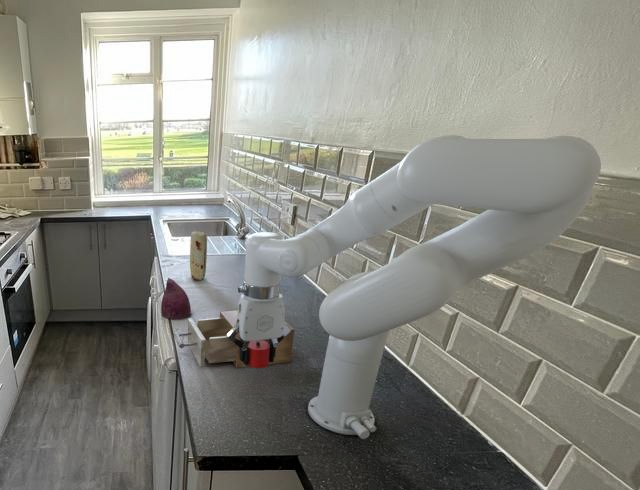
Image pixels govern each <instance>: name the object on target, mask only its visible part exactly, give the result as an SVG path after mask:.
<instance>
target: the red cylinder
mask: <svg viewBox="0 0 640 490" xmlns="http://www.w3.org/2000/svg"><path fill="white" fill-rule="evenodd" d="M247 349H248V350H249V364H248V366H247V367H250V368H254V369H264V368H267V367H268V366H269V365H270V364H269V353H270V344H269V343H268V342H266V341H263V340H257V341H250V343H249V345H248V348H247Z"/></svg>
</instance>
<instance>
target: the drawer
mask: <svg viewBox="0 0 640 490" xmlns="http://www.w3.org/2000/svg"><path fill="white" fill-rule="evenodd" d="M196 321H197V323H196V322H195V321H194V319H193V318H192V317H188V319H187V332H180V333H179V332H177V331H175V332H173V338H174V339H175V342H176V344H177V345H178V347H179V349H184V348H185V347H189V349H190V350H191V352H192V354H193V356H194V358H195V360H196V362H197V364H198V365H199V367H200V368H202V367H206V361H207V362H208V364H217V363H226V362H232V361H236V352H237V345H236V344H235V343H234V342H232V341H231V340H229V339H228V338H227V334H228V333H229V332H230V330H231V329H232V328H231V327H230V326H229V325H228V324H227V322H226V321H225V320H224V319H223V317H221V318H220V317H211V318H201V319H200V318H199V319H197V320H196ZM181 337H187V343H185V342H183V340H182V338H181ZM235 337H237V338H238V336H237V335H236V336H235Z"/></svg>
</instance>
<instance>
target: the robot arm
mask: <svg viewBox="0 0 640 490" xmlns="http://www.w3.org/2000/svg"><path fill="white" fill-rule="evenodd" d="M601 170H602V161H601V158H600V156H599V154H598V151H597V150H596V148H595V147H594V145H592V144H591V143H590V142H589V141H587V140H585V139H583V138H580V137H577V136H573V135H554V136H549V137H546V138H545V137H544V138H467V137H464V136H461V135H456V134H449V135H448V134H447V135H442V136H436V137H433V138H428V139H426V140H424V141H422V142H420V143H419V144H417V145H415V146H414V147H413V148H412V149H410V151H409V152H408V153H406V155H405V156H404V157H403V158H402V160H401V161H398V163H396V164H395V165H394V166H392V167H390V168H389V169H388V170H386V171H385V172H384V173H382V174H380V175H379V176H377V177H376V178H374V179H373V180H371V181H370V182H368V183H367V184H365V185H363V186H361V187H360V188H359V189H357V190H356V191H354V192H353V193H351V195H350V196H349V197H348V199H347V200H346V202H345V203H344V205H343V206H341V207H340V208H339V209H338V210H336V211H335V212H333V213H332V214H331V215H329V216H328V217H326V218H325V219H324V220H321V221H320V222H318V223H317V224H315V225H314V226H313V227H311V228H309V229H308V230H306V231H304V232H302V233H300V234H298V235H295V236H293V237H289V238H286V239H284V238H283V236H282V234H279V233H277V232H272V231H271V232H270V231H263V232H254V233H252V234H249V235H248V236H247V238H246V241H245V242H246V243H245V258H244V259H245V261H244V279H243V280H244V281H243V282H242V285H241V286H238V287H237V292H238V294H241V295H240V298H239V301H238V306H237V317H236V325H235V326H234V327H233V328H232V329H231V330H230V332H229V333H228V334H227V338H228V339H229V340H231V341H232V342H234V343H235V344H236V345H237V346H238V347H240V354H239V358H240V360H241V361H242V362H243V363H244V365H245V366H247V365H248V364H249V350H248V349H247V348H248V345H249V343H250V341H257V340H266V339H268V343H269V344H270V353H269V362H271V363H272V362H274V357H275V352H276V347H277V346H278V345H279V344H278V343H279V342H281V341H282V340H283V339H284V337H285V336H286V335H287V334H289V333H290V332H291V329H290V328H289V327H288V326H287V325H286V324H285V321H286V310H285V300H284V295H283V294H282V293H280V290H281V277H282V276H284V277H288V278H299V277H302V276H305V275H306V274H307V273H309V272H310V271H312V270H314V269H316V268H317V267H319V266H321V265H322V264H324V263H325V262H327V261H329V260H331V259H333V258H334V257H335V256H338V255H339V254H341V253H343V252H345V251H346V250H348V249H349V248H352V247H353V246H355V245H357V244H359V243H361V242H363V241H364V240H366V239H369V238H374V237H377V236H380V235H381V234H383V233H385V232H387V231H389V230H390V229H392V228H394V227H395V226H397V225H399V224H401V223H403V222H404V221H406V220H408V219H410V218H412V217H413V216H416V215H418V214H419V213H421V212H422V211H424V210H427V209H428V208H429V207H432V206H433V205H438V206H439V205H440V206H448V207H455V208H467V209H479V210H485V211H482V212H481V213H479V214H477V215H475V216H473V217H472V218H470V219H468V220H467V221H465V222H463V223H461V224H460V225H458V226H456V227H453V228H452V229H450V230H447V231H445V232H443V233H441V234H440V235H437V236H435V237H433V238H431V239H429V240H427V241H425V242H422V243H419V244H417V245H415V246H412V247H410V248H408V249H406V250H404V251H403V252H402V253H401V254H399V256H396V258H395V259H393V260H392V261H390V262H388V263H387V264H385V265H383V266H381V267H379V268H377V269H375V270H373V271H363V272H360V273H359V272H358V273H355V274H354V275H351V276H350V277H348V278H347V279H345V280H344V281H343V282H341V283H340V284H339V285H338V286H337V287H335V288H334V289H332V290H331V291H330V292H329V293H328V294H327V295H326V296H325V297H324V298H323V300H322V301H321V303H320V306H319V311H318V319H319V323H320V325H321V327H322V329H323V330H324V331H325V332H326V333H327V334H328V335H329V337H328V342H327V346H326V351H325V356H324V362H323V367H322V372H321V377H320V383H319V390H318V394H317V395H316V396H314V397H313V398H311V399H310V401H309V402H308V404H307V413H308V415H309V416H310V418H311V419H312V420H313V421H314V422H315V423H316V424H318V425H319V426H320V427H322V428H324V429H325V430H329V431H330V432H333V433H337V434H340V435H346V436H358V437H359V438H360V439H362V440H364V439H367V438H369V436H370V435H371V433H374V432H376V431H377V426H375V422H376V421H375V420H376V419H375V415H374V414H373V411H372V410H371V409H370V405H371V401H372V397H373V393H374V389H375V385H376V382H377V378H378V375H379V370H380V366H381V362H382V359H383V355H384V351H385V347H386V343H387V340H388V337H389V333H390V331H391V330H393V329H397V328H400V327H402V326H404V325H407V324H410V323H412V322H416V321H417V320H420V319H423V318H425V317H428V316H429V315H432V314H433V313H435V312H437V311H439V310H440V309H443V307H445V306H446V305H447V304H448V303H450V301H451V300H452V299H453V297H454V296H455V295H456V292H457V291H459V289H460V288H462V287H463V286H466V285H467V284H469V283H472V282H474V281H476V280H479V279H482V278H483V277H486V276H488V275H491V274H493V273H495V272H498V271H499V270H501V269H504V268H506V267H508V266H510V265H512V264H515V263H517V262H520V261H521V260H524V259H526V258H528V257H530V256H532V255H534V254H535V253H537V252H540V250H542V249H544V248H545V247H547V246H549V245H550V244H551V243H553V242H554V241H555V240H556V239H558V238H559V237H560V236H561V235H562V234H564V233H565V232H566V231H567V230H568V229H569V228H570V227H571V226H572V224H573V223H574V222H575V221H576V220H577V218H579V216H580V215H581V213H582V211H583V210H584V209H585V207H586V205H587V203H588V202H589V200H590V197H591V194H592V192H593V189H594V186H595V184H596V183H597V181H598V180H599V177H600V174H601ZM237 334H240V339H238V338H237V337H235V336H236V335H237ZM247 367H248V366H247Z"/></svg>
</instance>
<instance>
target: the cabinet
mask: <svg viewBox="0 0 640 490" xmlns="http://www.w3.org/2000/svg"><path fill="white" fill-rule="evenodd" d="M237 310H238V309H237ZM237 310H226V311H220V312H219V318H221V317H223V319H224V320H225V321H226V322H227V324H228V325H229V326H230V327H231V328H233V327H234V326H235V325H236V317H237ZM285 324H286V325H287V326H288V327H289V328H290V329H291V332H290V333H289V334H287V335H286V336H285V337H284V339H283V340H282V341H281V342H279V343H278V344H279V345H278V346H277V347H276V352H275V357H274V362H272V363H271V362H269V364H268V365H274V364H286V363H291V358H292V351H293V345H294V337H295V331H296V329H295V327H293V326H292V325H290V324H289V323H288V322H287V321H286V320H285ZM237 336H238V339H240V334H237ZM263 341H266V342H268V339H266V340H263ZM239 354H240V347H238V346H237V352H236V361H231V362H232V363H233V365H234V366H235V368H244V367H245V368H246V367H249V366H248V365H247V366H245V365H244V363H243V362H242V361H241V360H240V358H239Z"/></svg>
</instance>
